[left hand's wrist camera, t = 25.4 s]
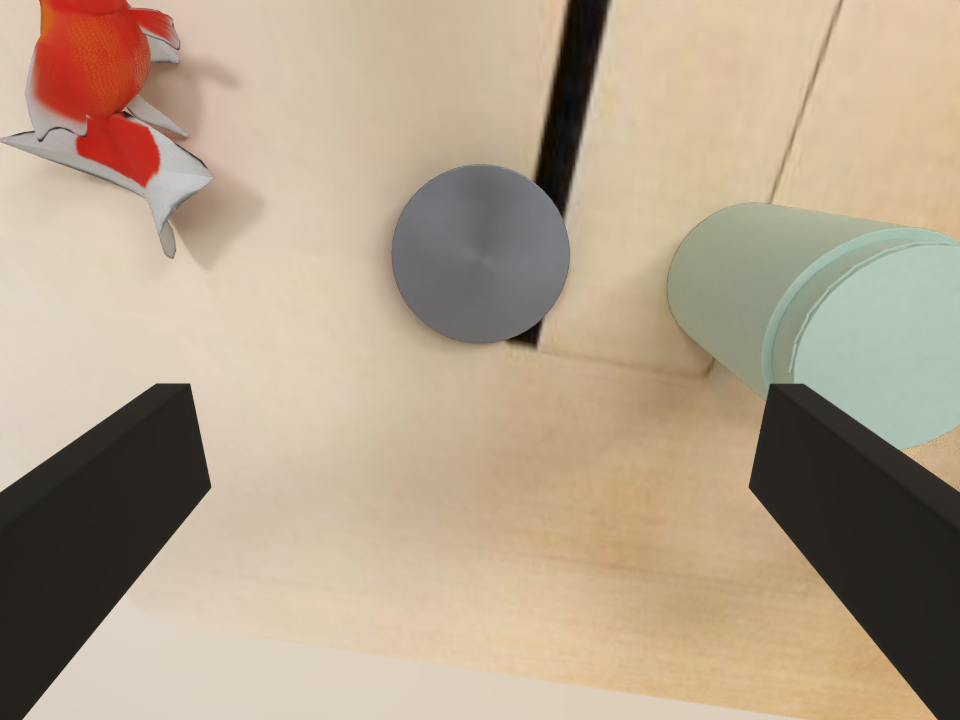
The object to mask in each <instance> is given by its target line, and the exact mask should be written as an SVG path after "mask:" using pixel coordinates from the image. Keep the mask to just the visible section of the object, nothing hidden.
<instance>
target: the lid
mask: <svg viewBox="0 0 960 720" xmlns="http://www.w3.org/2000/svg"><path fill="white" fill-rule="evenodd" d="M569 257H570V252H569V240H568V235H567V231H566V228H565V225H564V222H563V219H562V217H561V215H560V213H559V211H558V209H557V208H556V206H555V205H554V203H553V202H552V200H551V199H550V198H549V197H548V195H547V194H546V193H545V192H544V191H543V190H542V189H541V188H540V187H539V186H537V185H536V184H535V183H534V182H532V181H531V180H529V179H528V178H526V177H525V176H523V175H521V174H519V173H516V172H514V171H512V170H509V169H506V168H503V167H499V166H493V165H468V166H463V167H459V168H455V169H452V170H450V171H447V172H445V173H443V174H440V175H439V176H437V177H435V178H434V179H432V180H430V181H429V182H428V183H427V184H425V185H424V186H423V187H422V188H420V189H419V190H418V192H417V193H416V194H415V195H414V196H413V197H412V198H411V200H410V201H409V202H408V204H407V205H406V207H405V208H404V210H403V212H402V214H401V216H400V218H399V220H398V223H397V226H396V229H395V233H394V237H393V244H392V265H393V271H394V276H395V279H396V282H397V286H398V288H399V290H400V292H401V294H402V297H403V298H404V300H405V301H406V303H407V305H408V306H409V307H410V309H411V310H412V311H413V312H414V314H415V315H416V316H417V317H418V318H419V319H420V320H421V321H423V322H424V323H425V324H426V325H428V326H429V327H430V328H432V329H433V330H435V331H437V332H439V333H440V334H442V335H444V336H447V337H449V338H452V339H455V340H459V341H463V342H470V343H492V342H498V341H502V340H506V339H509V338H512V337H514V336H517V335H519V334H521V333H523V332H525V331H527V330H528V329H530V328H531V327H532V326H534V325H535V324H537V323H538V322H539V321H540V320H541V319H542V318H543V317H544V316H545V315H546V314H547V313H548V312H549V310H550V309H551V308H552V307H553V305H554V304H555V302H556V301H557V299H558V297H559V295H560V293H561V291H562V289H563V286H564V283H565V281H566V278H567V273H568V268H569Z"/></svg>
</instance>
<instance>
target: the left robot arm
mask: <svg viewBox="0 0 960 720" xmlns="http://www.w3.org/2000/svg"><path fill="white" fill-rule="evenodd" d="M210 489H211V483H210V478H209V473H208V468H207V464H206V459H205V454H204V449H203V444H202V439H201V434H200V429H199V425H198V420H197V415H196V410H195V405H194V400H193V395H192V390H191V386H190V384H155V385H153V386H152V387H151V388H149V389H148V390H146V391H145V392H143V393H142V394H141V395H139V396H138V397H136V398H135V399H133V400H132V401H131V402H129V403H128V404H126V405H125V406H123V407H122V408H120V409H119V410H118V411H116V412H115V413H113V414H112V415H110V416H109V417H108V418H106V419H105V420H103V421H102V422H100V423H99V424H98V425H96V426H95V427H93V428H92V429H90V430H89V431H88V432H86V433H85V434H83V435H82V436H80V437H79V438H78V439H76V440H75V441H73V442H72V443H70V444H69V445H67V446H66V447H65V448H63V449H62V450H60V451H59V452H57V453H56V454H55V455H53V456H52V457H50V458H49V459H47V460H46V461H45V462H43V463H42V464H40V465H39V466H37V467H36V468H35V469H33V470H32V471H30V472H29V473H27V474H26V475H24V476H23V477H22V478H20V479H19V480H17V481H16V482H14V483H13V484H12V485H10V486H9V487H7V488H6V489H4V490H3V491H2V492H0V720H22V719H23V718H24V717H25V716H26V714H27V713H28V712H29V711H30V710H31V708H32V707H33V706H34V705H35V703H36V702H37V701H38V700H39V699H40V697H41V696H42V695H43V694H44V692H45V691H46V690H47V689H48V687H49V686H50V685H51V684H52V683H53V681H54V680H55V679H56V678H57V676H58V675H59V674H60V673H61V672H62V670H63V669H64V668H65V667H66V665H67V664H68V663H69V662H70V660H71V659H72V658H73V657H74V656H75V654H76V653H77V652H78V651H79V649H80V648H81V647H82V646H83V645H84V643H85V642H86V641H87V640H88V638H89V637H90V636H91V635H92V633H93V632H94V631H95V630H96V628H97V627H98V626H99V625H100V624H101V622H102V621H103V620H104V619H105V617H106V616H107V615H108V614H109V613H110V611H111V610H112V609H113V608H114V606H115V605H116V604H117V603H118V602H119V600H120V599H121V598H122V597H123V595H124V594H125V593H126V592H127V590H128V589H129V588H130V587H131V586H132V584H133V583H134V582H135V581H136V579H137V578H138V577H139V576H140V575H141V573H142V572H143V571H144V570H145V568H146V567H147V566H148V565H149V563H150V562H151V561H152V560H153V559H154V557H155V556H156V555H157V554H158V552H159V551H160V550H161V549H162V548H163V546H164V545H165V544H166V543H167V541H168V540H169V539H170V538H171V536H172V535H173V534H174V533H175V532H176V530H177V529H178V528H179V527H180V525H181V524H182V523H183V522H184V520H185V519H186V518H187V517H188V516H189V514H190V513H191V512H192V511H193V509H194V508H195V507H196V506H197V505H198V503H199V502H200V501H201V500H202V498H203V497H204V496H205V495H206V493H207V492H208V491H209V490H210ZM749 489H750V490H751V491H752V492H753V493H754V495H755V496H756V497H757V498H758V500H759V501H760V502H761V503H762V505H763V506H764V507H765V508H766V509H767V511H768V512H769V513H770V514H771V516H772V517H773V518H774V519H775V520H776V522H777V523H778V524H779V525H780V527H781V528H782V529H783V530H784V532H785V533H786V534H787V535H788V536H789V538H790V539H791V540H792V541H793V543H794V544H795V545H796V546H797V548H798V549H799V550H800V551H801V552H802V554H803V555H804V556H805V557H806V559H807V560H808V561H809V562H810V563H811V565H812V566H813V567H814V568H815V570H816V571H817V572H818V573H819V575H820V576H821V577H822V578H823V579H824V581H825V582H826V583H827V584H828V586H829V587H830V588H831V589H832V590H833V592H834V593H835V594H836V595H837V597H838V598H839V599H840V600H841V602H842V603H843V604H844V605H845V606H846V608H847V609H848V610H849V611H850V613H851V614H852V615H853V616H854V618H855V619H856V620H857V621H858V622H859V624H860V625H861V626H862V627H863V629H864V630H865V631H866V632H867V633H868V635H869V636H870V637H871V638H872V640H873V641H874V642H875V643H876V645H877V646H878V647H879V648H880V649H881V651H882V652H883V653H884V654H885V656H886V657H887V658H888V659H889V660H890V662H891V663H892V664H893V665H894V667H895V668H896V669H897V670H898V672H899V673H900V674H901V675H902V676H903V678H904V679H905V680H906V681H907V683H908V684H909V685H910V686H911V688H912V689H913V690H914V691H915V692H916V694H917V695H918V696H919V697H920V699H921V700H922V701H923V702H924V703H925V705H926V706H927V707H928V708H929V710H930V711H931V712H932V713H933V715H934V716H935V717H936V718H937V719H938V720H960V492H958V491H957V490H956V489H954V488H953V487H951V486H950V485H948V484H947V483H946V482H944V481H943V480H941V479H940V478H938V477H937V476H936V475H934V474H933V473H931V472H930V471H928V470H927V469H925V468H924V467H923V466H921V465H920V464H918V463H917V462H915V461H914V460H913V459H911V458H910V457H908V456H907V455H905V454H904V453H903V452H901V451H900V450H898V449H897V448H895V447H894V446H893V445H891V444H890V443H888V442H887V441H885V440H884V439H882V438H881V437H880V436H878V435H877V434H875V433H874V432H872V431H871V430H870V429H868V428H867V427H865V426H864V425H862V424H861V423H860V422H858V421H857V420H855V419H854V418H852V417H851V416H850V415H848V414H847V413H845V412H844V411H842V410H841V409H840V408H838V407H837V406H835V405H834V404H832V403H831V402H829V401H828V400H827V399H825V398H824V397H822V396H821V395H819V394H818V393H817V392H815V391H814V390H812V389H811V388H809V387H808V386H807V385H805V384H770V386H769V390H768V395H767V400H766V405H765V410H764V415H763V420H762V425H761V429H760V434H759V439H758V444H757V449H756V454H755V459H754V464H753V468H752V473H751V478H750V483H749Z"/></svg>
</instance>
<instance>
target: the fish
mask: <svg viewBox="0 0 960 720" xmlns="http://www.w3.org/2000/svg"><path fill="white" fill-rule="evenodd" d="M39 1H40V5H41V36H40V38H39V39H38V41H37V44H36V46H35V49H34V53H33V56H32V60H31V64H30V68H29V73H28V78H27V85H26V92H25V96H26V101H27V106H28V111H29V115H30V118H31V122H32V125H33V128H34V131H30V132H23V133H19V134H16V135H12V136H8V137H4V138H1V139H0V142H2V143H5V144H7V145H10V146H13V147H15V148H18V149H21V150H23V151H26V152H29V153H31V154H34V155H37V156H39V157H42V158H45V159H47V160H50V161H53V162H56V163H59V164H62V165H65V166H68V167H70V168H73V169H76V170H79V171H82V172H85V173H88V174H90V175H93V176H96V177H99V178H101V179H104V180H106V181H109V182H111V183H114V184H116V185H119V186H121V187H124V188H126V189H129V190H131V191H133V192H134V193H136V194H138V195H140V196H142V197H144V198H146V199H147V201H148V204H149V207H150V209H151V212H152V215H153V218H154V221H155V225H156V229H157V231H158V234H159V237H160V241H161V244H162V247H163V251H164V254H165V255H166V256H168V257H169V258H172V259H173V258H174V255H175V252H176V245H175V239H174V234H173V229H172V228H171V226H170V224H169V223H168V221H167V219H168V218H169V217H170V215H171V214H172V213H173V212H174V211H175V210H176V209H177V208H178V206H179V205H180V204H181V203H182V202H184V201H185V200H187V199H188V198H189V197H191V196H192V195H194V194H195V193H196V192H198V191H199V190H200V189H201V188H202V187H204V186H205V185H206V184H207V183H208V182H209V181H211V180H212V179H213V178H214V176H213V175H212V174H211V172H210V171H209V170H208V169H207V167H206V166H205V165H204V163H203V162H202V161H201V160H200V159H198V158H197V157H195V156H194V155H192V154H191V153H189V152H188V151H186V150H185V149H183V148H182V147H180V146H179V145H177V144H176V143H174V142H173V141H172V140H170V139H169V138H167V137H166V136H165V135H163V134H162V133H160V132H159V131H157V130H155V129H154V128H152V127H150V126H149V125H147V124H146V123H144V122H142V121H145V122H147V123H150V124H153V125H156V126H159V127H162V128H165V129H167V130H170V131H172V132H175V133H177V134H180V135H182V136H184V137H187V136H188V134H187V133H185V132H184V131H183V130H182V129H181V128H180V127H178V126H177V125H176V124H175V123H174V122H173V121H172V120H170V119H169V118H168V117H167V116H166V115H164V114H163V113H162V112H160V111H159V110H157V109H156V108H154V107H153V106H151V105H150V104H149V103H147V102H146V101H145V100H144V99H143V98H142V97H141V96H140V95H139V94H138V93H139V92H140V90H141V88H142V87H143V85H144V83H145V81H146V78H147V75H148V72H149V68H150V62H154V63H160V62H169V63H179V61H180V58H179V56H178V55H177V54H176V53H175V52H174V51H173V50H172V49H171V48H170V47H169V46H168V45H167V44H166V43H168V44H169V45H171V46H172V47H174V48H175V49H176V50H179V49H180V40H179V38H178V36H177V34H176V31H175V29H174V24H173V19H172V18H171V17H170V16H168V15H166V14H163V13H161V12H160V11H158V10H153V9H145V8H131V6H130V5H129V3H128V2H127V1H126V0H39ZM165 42H166V43H165ZM125 106H126V107H127V109H128V110H129V111H130V112H131V113H132V114H133V115H134V116H135V117H137V118H138V119H137V118H135V117H134V116H132V115H130V114H129V113H127V112H125V111H123V112H122V110H123V109H124V107H125ZM139 119H140V120H139ZM141 120H142V121H141ZM54 128H55V129H54Z"/></svg>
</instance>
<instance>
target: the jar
mask: <svg viewBox="0 0 960 720" xmlns="http://www.w3.org/2000/svg"><path fill="white" fill-rule="evenodd" d="M667 295H668V302H669V306H670V310H671V312H672V314H673V317H674V319H675V320H676V322H677V324H678V325H679V326H680V327H681V329H682V330H683V331H684V332H685V333H686V334H687V335H688V336H690V337H691V338H692V339H693V340H694V341H695V342H697V343H698V344H699V345H700V346H701V347H702V348H704V349H705V350H706V351H707V352H708V353H709V354H711V355H712V356H713V357H714V358H715V359H716V360H718V361H719V362H720V363H721V364H722V365H723V366H725V367H726V368H727V369H728V370H729V371H730V372H732V373H733V374H734V375H735V376H736V377H737V378H739V379H740V380H741V381H742V382H743V383H745V384H746V385H747V386H748V387H749V388H750V389H752V390H753V391H754V392H755V393H756V394H757V395H759V396H760V397H761V398H762V399H763V400H764V401H766V400H767V395H768V390H769V386H770V384H805V385H807V386H808V387H809V388H811V389H812V390H814V391H815V392H817V393H818V394H819V395H821V396H822V397H824V398H825V399H827V400H828V401H829V402H831V403H832V404H834V405H835V406H837V407H838V408H840V409H841V410H842V411H844V412H845V413H847V414H848V415H850V416H851V417H852V418H854V419H855V420H857V421H858V422H860V423H861V424H862V425H864V426H865V427H867V428H868V429H870V430H871V431H872V432H874V433H875V434H877V435H878V436H880V437H881V438H882V439H884V440H885V441H887V442H888V443H890V444H891V445H893V446H894V447H895V448H897V449H898V450H903V449H908V448H911V447H915V446H918V445H921V444H924V443H926V442H929V441H931V440H934V439H936V438H938V437H940V436H942V435H944V434H946V433H948V432H950V431H951V430H953V429H954V428H956V427H957V426H959V425H960V243H959V242H958V241H956V240H954V239H952V238H951V237H949V236H947V235H944V234H941V233H939V232H936V231H933V230H927V229H922V228H916V227H910V226H904V225H897V224H891V223H885V222H879V221H873V220H866V219H860V218H854V217H848V216H841V215H835V214H829V213H823V212H816V211H810V210H804V209H798V208H791V207H785V206H779V205H773V204H766V203H743V204H739V205H734V206H731V207H728V208H725V209H723V210H721V211H719V212H717V213H715V214H713V215H711V216H710V217H708V218H707V219H705V220H703V221H702V222H701V223H700V224H699V225H698V226H696V227H695V228H694V229H693V230H692V231H691V232H690V233H689V235H688V236H687V237H686V238H685V240H684V241H683V242H682V244H681V245H680V247H679V249H678V250H677V252H676V254H675V256H674V259H673V261H672V264H671V267H670V270H669V275H668V281H667Z"/></svg>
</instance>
